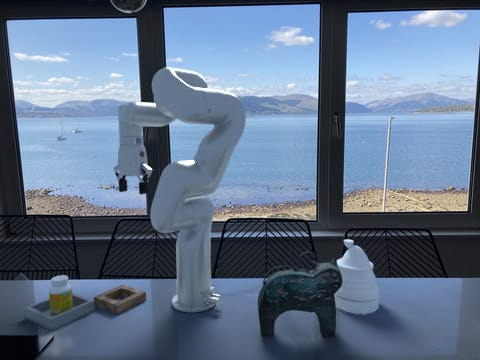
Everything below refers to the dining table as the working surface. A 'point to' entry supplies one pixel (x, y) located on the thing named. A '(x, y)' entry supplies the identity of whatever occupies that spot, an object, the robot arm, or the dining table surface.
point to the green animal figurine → (300, 295)
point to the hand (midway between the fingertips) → (133, 192)
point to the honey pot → (357, 282)
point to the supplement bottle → (60, 295)
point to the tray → (43, 317)
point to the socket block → (117, 307)
